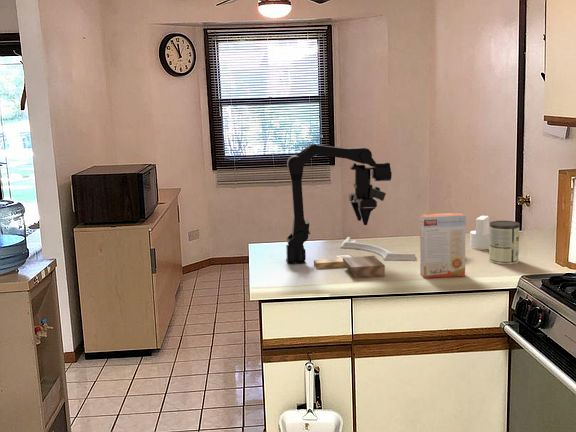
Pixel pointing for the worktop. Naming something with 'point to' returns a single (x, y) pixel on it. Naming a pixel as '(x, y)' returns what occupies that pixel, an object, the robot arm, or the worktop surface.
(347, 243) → the molding
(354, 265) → the laid planks
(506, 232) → the coffee can
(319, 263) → the oak plank
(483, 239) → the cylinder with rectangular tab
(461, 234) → the cracker box
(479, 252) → the worktop surface
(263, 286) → the worktop surface
